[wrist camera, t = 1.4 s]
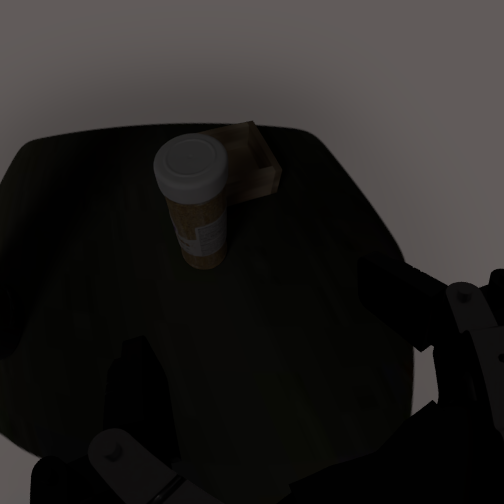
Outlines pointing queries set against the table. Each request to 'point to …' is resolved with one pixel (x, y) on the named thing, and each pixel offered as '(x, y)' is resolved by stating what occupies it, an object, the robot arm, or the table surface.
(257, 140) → the oak socket block
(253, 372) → the table surface
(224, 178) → the sprinkles bottle
